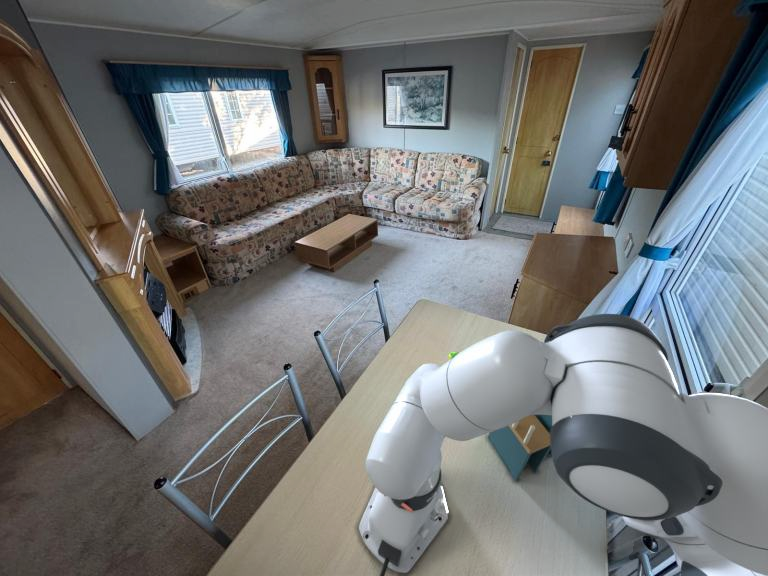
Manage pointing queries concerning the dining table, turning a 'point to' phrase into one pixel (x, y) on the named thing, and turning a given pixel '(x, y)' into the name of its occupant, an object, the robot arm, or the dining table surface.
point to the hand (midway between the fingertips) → (630, 423)
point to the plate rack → (523, 443)
